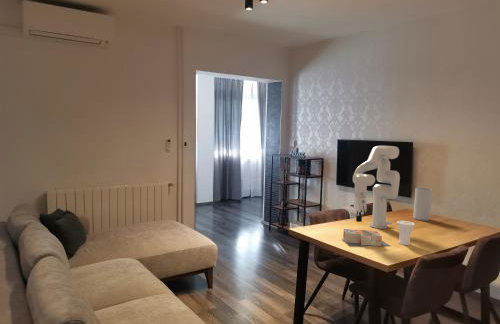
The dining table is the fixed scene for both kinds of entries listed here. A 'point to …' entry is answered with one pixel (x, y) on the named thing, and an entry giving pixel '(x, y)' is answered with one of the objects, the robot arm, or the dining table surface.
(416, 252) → the dining table surface
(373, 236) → the stack of blocks
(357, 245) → the rubber mat
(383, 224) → the robot arm
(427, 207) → the cylinder vase
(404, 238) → the cup
